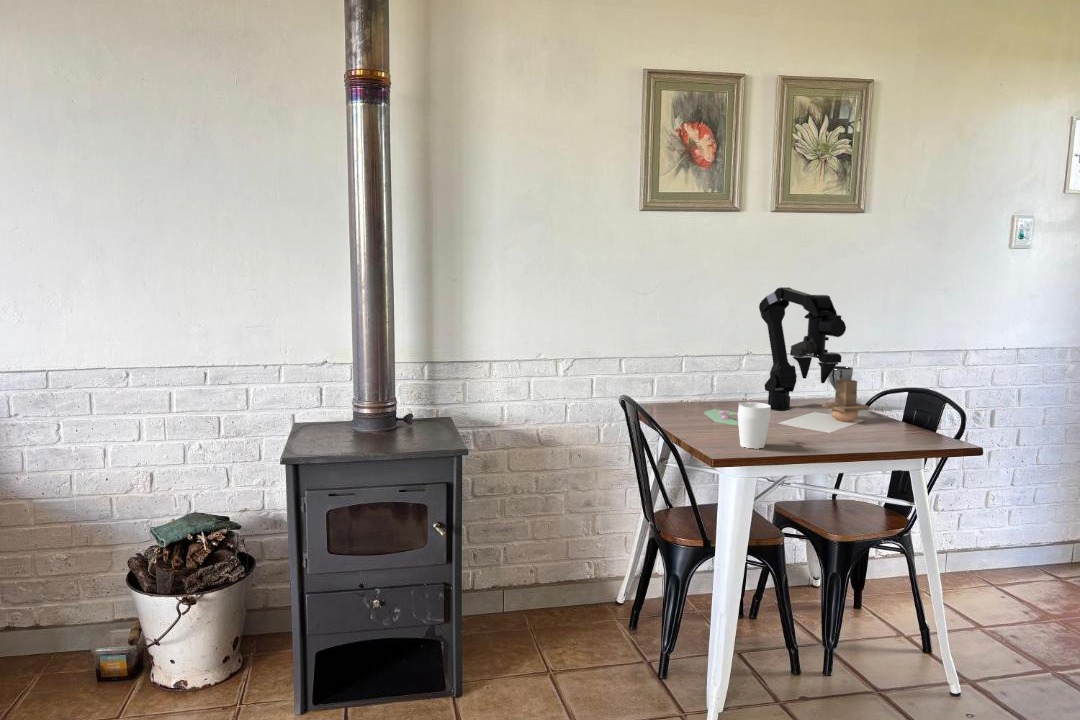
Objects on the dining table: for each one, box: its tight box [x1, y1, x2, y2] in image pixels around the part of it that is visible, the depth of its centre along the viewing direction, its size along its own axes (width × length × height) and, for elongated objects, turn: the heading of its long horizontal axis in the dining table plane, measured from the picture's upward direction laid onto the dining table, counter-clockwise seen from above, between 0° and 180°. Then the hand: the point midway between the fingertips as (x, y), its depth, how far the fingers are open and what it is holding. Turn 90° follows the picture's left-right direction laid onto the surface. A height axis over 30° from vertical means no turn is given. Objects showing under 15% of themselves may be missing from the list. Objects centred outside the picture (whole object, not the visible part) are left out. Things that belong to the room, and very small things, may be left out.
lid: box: [821, 379, 870, 412], centre depth 258 cm, size 10×10×9 cm
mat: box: [777, 411, 865, 434], centre depth 256 cm, size 17×26×1 cm, turn 136°
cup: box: [737, 401, 772, 450], centre depth 226 cm, size 9×9×12 cm
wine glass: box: [828, 365, 854, 391], centre depth 280 cm, size 8×8×15 cm
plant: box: [703, 394, 753, 426], centre depth 264 cm, size 25×21×9 cm
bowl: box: [831, 409, 859, 422], centre depth 259 cm, size 8×8×4 cm
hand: (813, 380), depth 262 cm, fingers open, 9 cm apart
